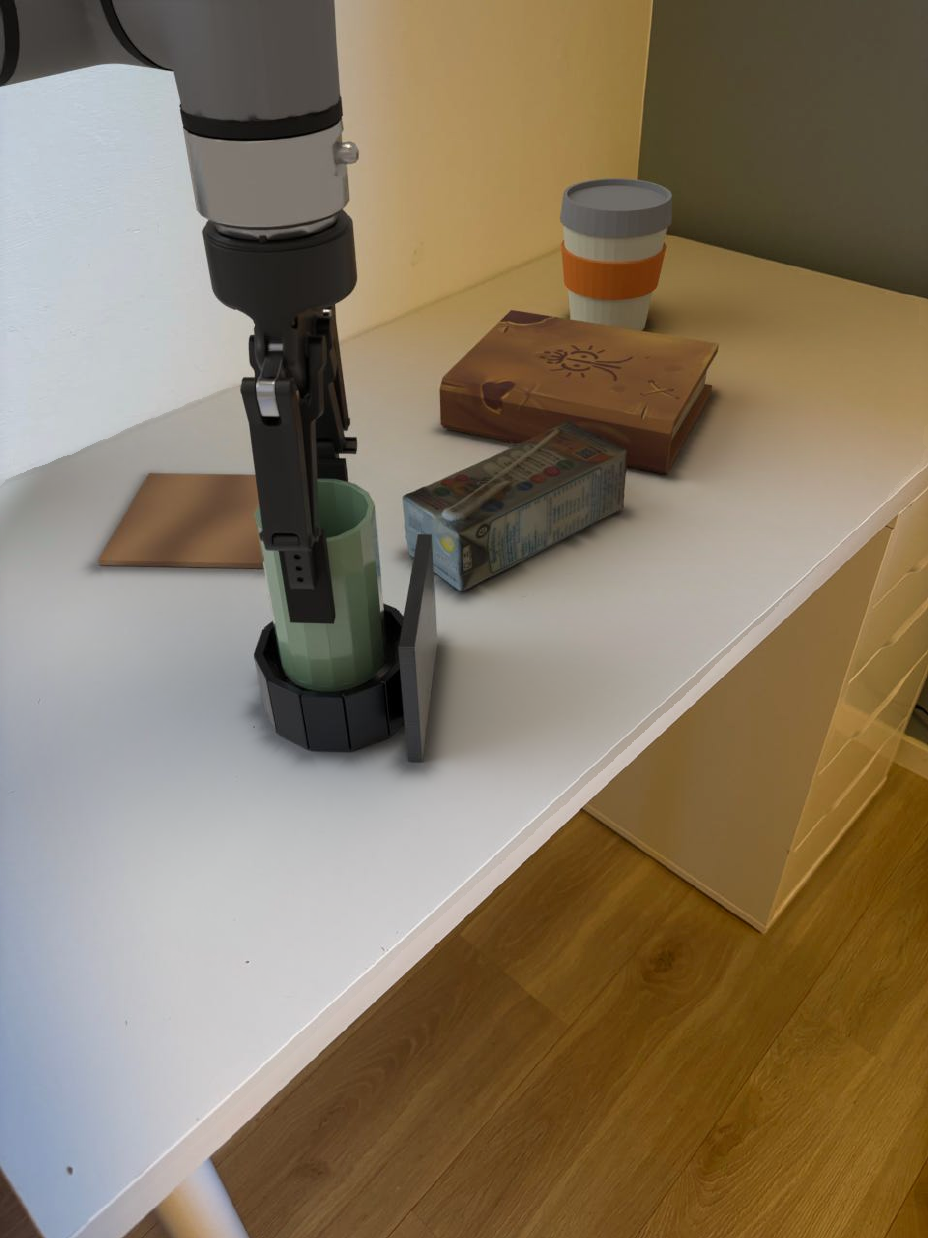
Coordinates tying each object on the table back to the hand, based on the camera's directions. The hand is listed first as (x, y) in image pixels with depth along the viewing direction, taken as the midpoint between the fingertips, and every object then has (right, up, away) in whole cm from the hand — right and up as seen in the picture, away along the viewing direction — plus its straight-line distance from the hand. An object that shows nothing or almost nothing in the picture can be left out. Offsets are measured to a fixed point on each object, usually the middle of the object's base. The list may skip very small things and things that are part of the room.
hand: (323, 579), depth 64 cm
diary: (+21, +19, +39) cm, 48 cm away
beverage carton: (+14, +5, +22) cm, 26 cm away
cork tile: (-14, +6, +24) cm, 29 cm away
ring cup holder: (0, -8, +6) cm, 10 cm away
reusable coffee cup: (+26, +33, +56) cm, 70 cm away
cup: (0, -5, +4) cm, 7 cm away
